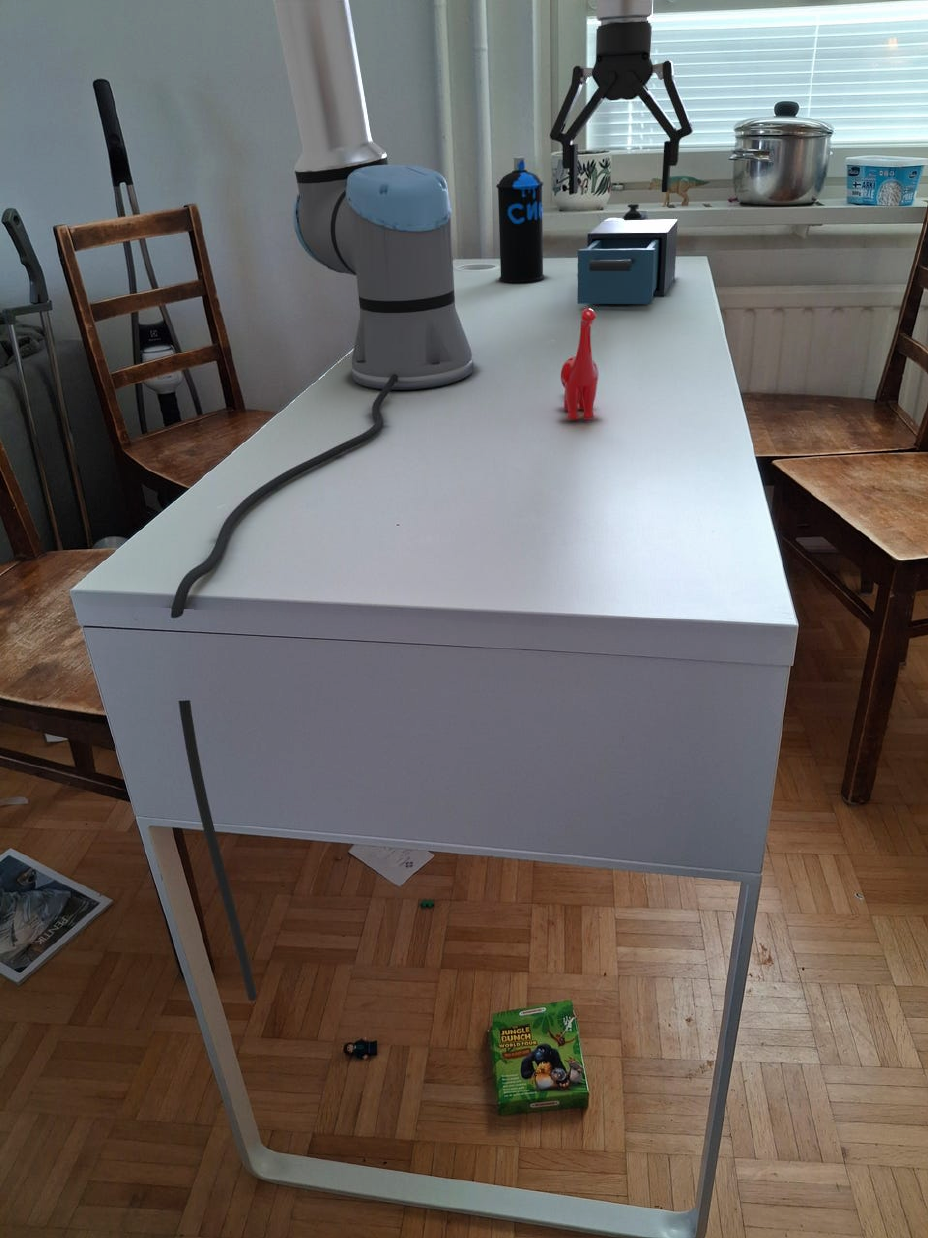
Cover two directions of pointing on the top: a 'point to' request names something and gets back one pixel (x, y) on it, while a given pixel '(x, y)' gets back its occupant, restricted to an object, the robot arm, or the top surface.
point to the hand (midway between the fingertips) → (618, 192)
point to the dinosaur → (581, 373)
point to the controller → (635, 213)
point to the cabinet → (645, 230)
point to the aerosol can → (520, 225)
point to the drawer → (619, 271)
